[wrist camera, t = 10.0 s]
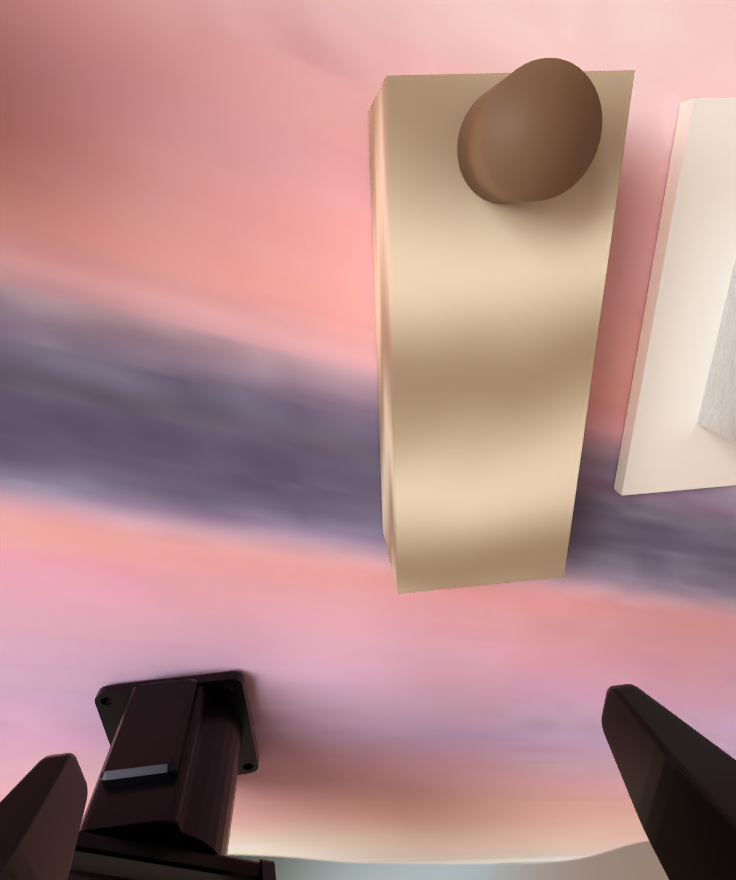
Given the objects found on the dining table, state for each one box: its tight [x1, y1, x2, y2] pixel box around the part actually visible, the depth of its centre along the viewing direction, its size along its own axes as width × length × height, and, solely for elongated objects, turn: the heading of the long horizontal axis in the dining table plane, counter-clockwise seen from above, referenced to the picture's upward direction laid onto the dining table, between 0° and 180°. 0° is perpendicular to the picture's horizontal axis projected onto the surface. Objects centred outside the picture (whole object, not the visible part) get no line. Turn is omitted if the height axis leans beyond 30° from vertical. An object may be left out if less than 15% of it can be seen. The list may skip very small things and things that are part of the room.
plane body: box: [369, 58, 635, 594], centre depth 16 cm, size 15×6×6 cm, turn 2°
